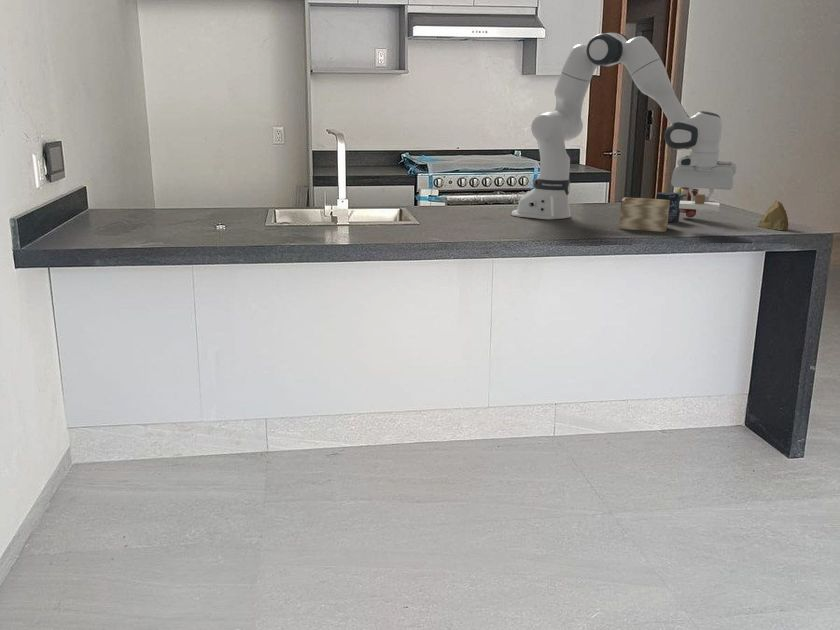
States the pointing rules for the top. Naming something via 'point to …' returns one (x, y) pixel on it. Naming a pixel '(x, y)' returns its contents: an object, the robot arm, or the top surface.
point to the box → (671, 204)
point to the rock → (775, 217)
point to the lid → (699, 204)
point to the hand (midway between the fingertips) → (699, 201)
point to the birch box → (644, 214)
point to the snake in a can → (687, 199)
